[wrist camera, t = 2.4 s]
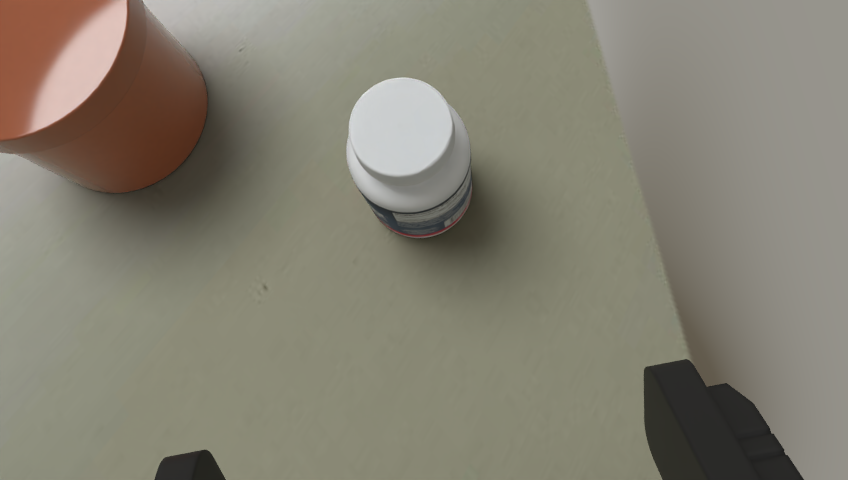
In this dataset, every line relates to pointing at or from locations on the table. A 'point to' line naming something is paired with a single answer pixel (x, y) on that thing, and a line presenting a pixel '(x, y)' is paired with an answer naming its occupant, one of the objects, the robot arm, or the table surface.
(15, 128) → the terracotta pot
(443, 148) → the pill bottle
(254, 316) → the table surface
